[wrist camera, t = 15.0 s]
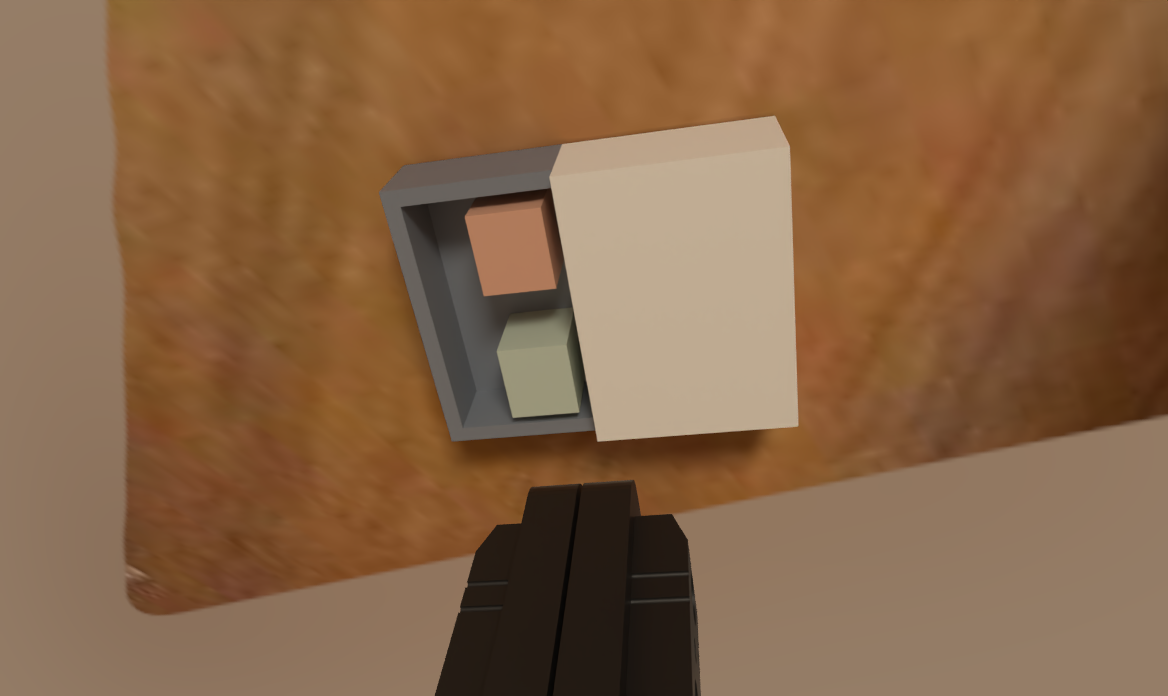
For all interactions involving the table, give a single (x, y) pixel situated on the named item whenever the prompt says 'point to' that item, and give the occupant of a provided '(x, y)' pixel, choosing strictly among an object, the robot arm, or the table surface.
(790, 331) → the cream rectangular block
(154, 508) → the table surface
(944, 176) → the table surface
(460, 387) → the box
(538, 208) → the orange cube
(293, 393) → the table surface
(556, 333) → the sage green cube
